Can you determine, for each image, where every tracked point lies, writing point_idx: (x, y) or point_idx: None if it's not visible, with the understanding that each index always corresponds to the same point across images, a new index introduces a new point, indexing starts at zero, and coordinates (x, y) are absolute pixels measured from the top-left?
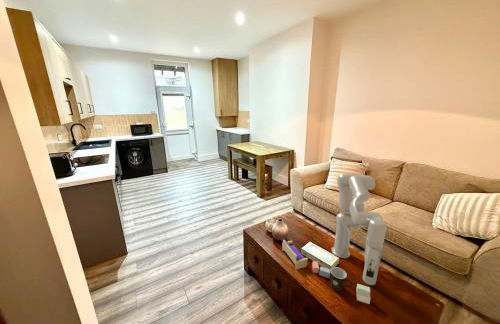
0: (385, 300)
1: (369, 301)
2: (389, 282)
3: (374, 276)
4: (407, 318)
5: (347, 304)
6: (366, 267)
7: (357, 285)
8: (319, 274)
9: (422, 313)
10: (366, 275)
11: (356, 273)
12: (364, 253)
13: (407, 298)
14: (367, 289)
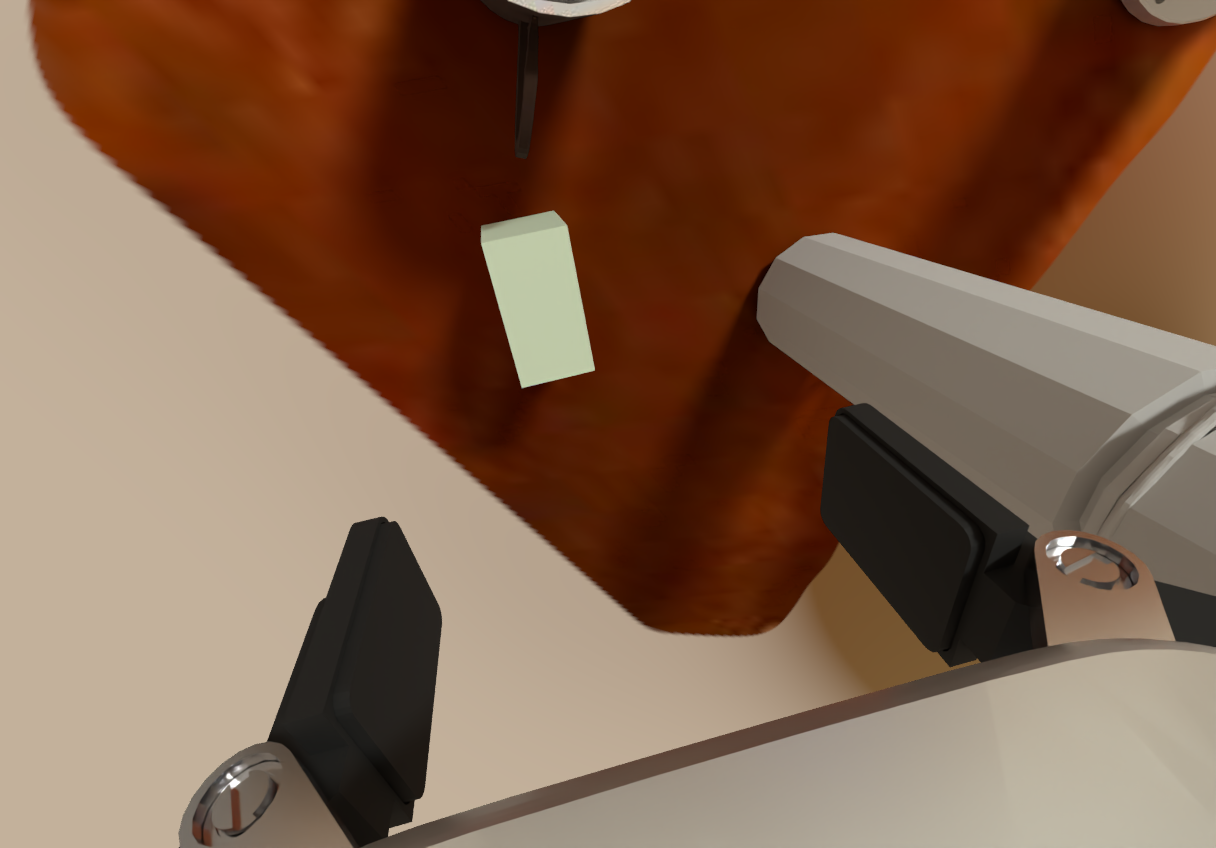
0: (644, 432)
1: None
2: None
3: (820, 374)
4: (565, 550)
5: (340, 137)
6: (902, 306)
7: (529, 233)
8: None
9: (661, 596)
10: (351, 535)
11: (871, 159)
12: (1191, 736)
13: (743, 531)
14: (544, 355)
